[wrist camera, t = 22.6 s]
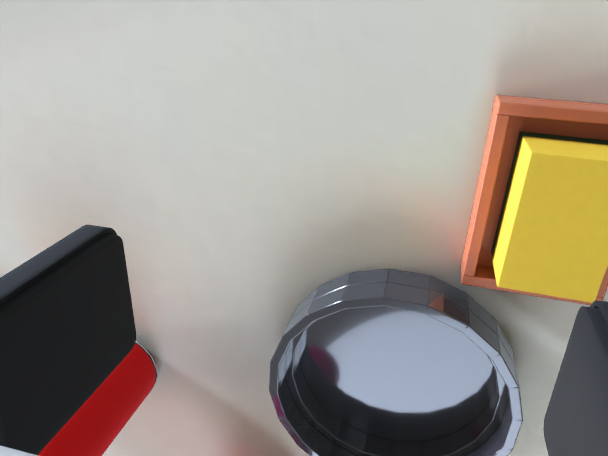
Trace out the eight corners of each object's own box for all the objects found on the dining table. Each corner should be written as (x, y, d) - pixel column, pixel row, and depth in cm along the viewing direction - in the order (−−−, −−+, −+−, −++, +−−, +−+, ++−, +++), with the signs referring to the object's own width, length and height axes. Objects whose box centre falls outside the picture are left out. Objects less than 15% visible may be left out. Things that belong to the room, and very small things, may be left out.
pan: (447, 227, 29) (447, 258, 25) (552, 418, 32) (565, 469, 29) (247, 312, 35) (225, 346, 32) (353, 463, 39) (344, 510, 35)
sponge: (519, 130, 25) (531, 151, 22) (616, 140, 24) (644, 164, 21) (490, 251, 28) (496, 287, 25) (575, 264, 27) (594, 303, 24)
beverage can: (171, 389, 41) (74, 526, 30) (107, 385, 43) (-4, 513, 32) (150, 327, 38) (38, 451, 28) (84, 325, 40) (-45, 442, 30)
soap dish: (495, 94, 25) (499, 101, 24) (652, 108, 24) (669, 116, 22) (460, 267, 30) (461, 284, 28) (591, 288, 28) (600, 307, 26)
